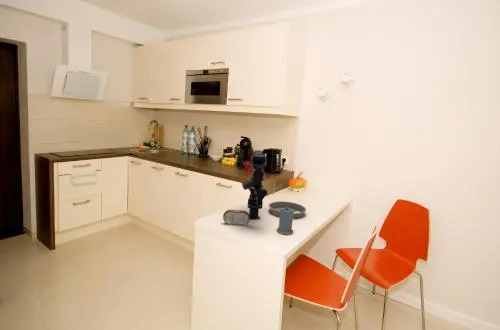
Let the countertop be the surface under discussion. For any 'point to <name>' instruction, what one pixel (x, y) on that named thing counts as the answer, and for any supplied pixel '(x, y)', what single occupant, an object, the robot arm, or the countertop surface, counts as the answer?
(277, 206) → the cake pan
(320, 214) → the countertop surface
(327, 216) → the countertop surface
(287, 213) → the sleeve
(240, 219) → the tin
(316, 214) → the countertop surface
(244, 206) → the countertop surface
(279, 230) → the pin base
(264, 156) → the robot arm
